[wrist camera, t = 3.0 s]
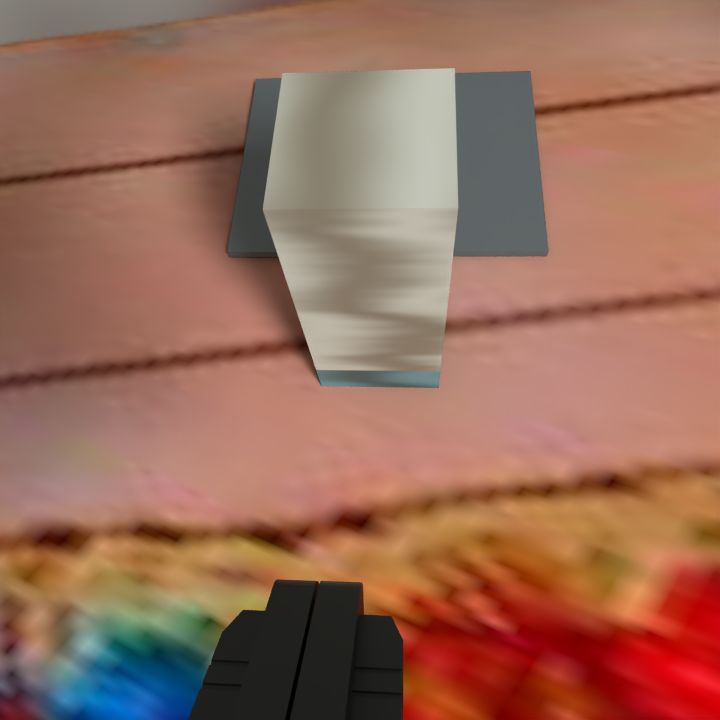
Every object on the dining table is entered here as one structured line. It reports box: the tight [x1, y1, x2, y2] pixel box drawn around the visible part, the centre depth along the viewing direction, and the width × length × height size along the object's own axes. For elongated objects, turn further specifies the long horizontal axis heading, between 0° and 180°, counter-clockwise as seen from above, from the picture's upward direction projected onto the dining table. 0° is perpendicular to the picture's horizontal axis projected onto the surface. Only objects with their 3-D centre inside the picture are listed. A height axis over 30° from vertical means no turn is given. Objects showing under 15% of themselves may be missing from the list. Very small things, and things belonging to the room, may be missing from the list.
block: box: [263, 68, 458, 388], centre depth 26 cm, size 6×6×14 cm
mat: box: [227, 71, 548, 257], centre depth 37 cm, size 18×14×1 cm
